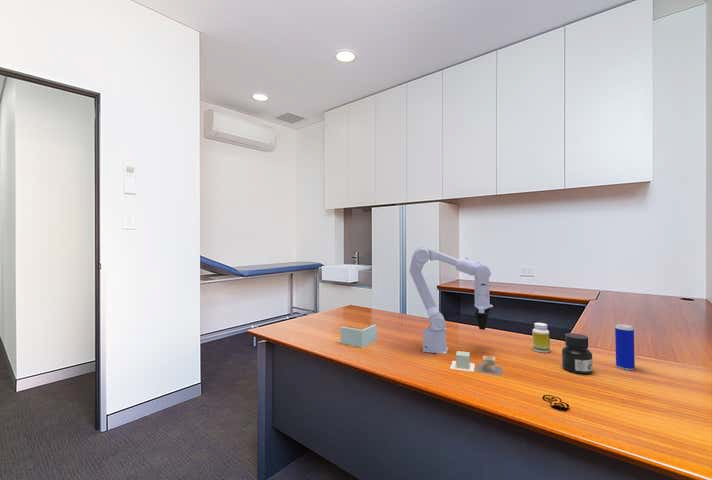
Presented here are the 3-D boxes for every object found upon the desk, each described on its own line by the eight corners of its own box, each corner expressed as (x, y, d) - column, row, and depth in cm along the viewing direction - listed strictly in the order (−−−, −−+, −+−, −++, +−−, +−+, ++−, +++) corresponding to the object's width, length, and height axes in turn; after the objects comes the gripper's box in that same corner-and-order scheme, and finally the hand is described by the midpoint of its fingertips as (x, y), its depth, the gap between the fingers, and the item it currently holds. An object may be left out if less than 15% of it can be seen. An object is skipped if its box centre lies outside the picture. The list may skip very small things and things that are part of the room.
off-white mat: (450, 369, 116) (450, 368, 116) (452, 362, 123) (452, 360, 123) (473, 373, 113) (473, 371, 113) (475, 364, 120) (474, 363, 120)
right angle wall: (376, 340, 151) (376, 324, 151) (362, 347, 141) (362, 330, 141) (355, 336, 158) (355, 321, 158) (340, 343, 148) (340, 326, 148)
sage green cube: (456, 367, 117) (455, 355, 117) (457, 363, 121) (457, 351, 121) (469, 369, 115) (469, 356, 115) (469, 364, 119) (469, 352, 119)
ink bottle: (582, 377, 108) (582, 341, 108) (556, 368, 116) (555, 334, 116) (598, 371, 112) (597, 336, 112) (571, 363, 120) (571, 330, 120)
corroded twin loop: (556, 412, 87) (556, 408, 87) (538, 398, 95) (538, 394, 95) (574, 411, 87) (574, 407, 87) (554, 397, 95) (554, 393, 95)
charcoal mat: (476, 373, 112) (476, 372, 112) (477, 365, 120) (477, 363, 120) (501, 377, 109) (501, 375, 109) (501, 368, 116) (501, 366, 116)
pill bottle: (552, 353, 130) (551, 326, 130) (535, 352, 132) (535, 325, 132) (546, 348, 136) (546, 322, 137) (530, 347, 138) (530, 321, 138)
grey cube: (483, 370, 113) (482, 359, 113) (483, 366, 117) (483, 355, 117) (495, 372, 112) (495, 360, 112) (495, 368, 115) (495, 356, 115)
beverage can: (630, 365, 117) (629, 324, 117) (637, 371, 112) (636, 328, 112) (613, 364, 118) (612, 323, 118) (619, 369, 113) (618, 327, 113)
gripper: (492, 297, 125) (492, 332, 125) (492, 291, 138) (493, 323, 138) (472, 296, 128) (473, 330, 128) (475, 291, 141) (475, 322, 141)
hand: (482, 327), depth 133 cm, fingers open, 7 cm apart
